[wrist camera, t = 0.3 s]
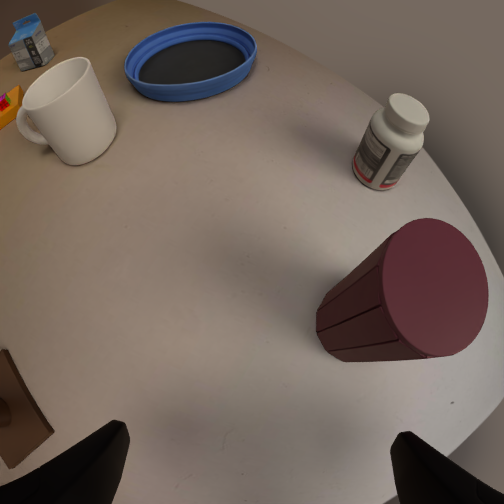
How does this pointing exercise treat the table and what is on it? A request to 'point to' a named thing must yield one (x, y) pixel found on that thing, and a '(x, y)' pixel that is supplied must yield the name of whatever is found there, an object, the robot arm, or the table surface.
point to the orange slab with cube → (10, 105)
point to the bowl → (190, 61)
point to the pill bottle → (390, 142)
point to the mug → (68, 112)
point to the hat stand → (18, 416)
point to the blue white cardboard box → (30, 44)
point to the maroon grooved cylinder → (407, 298)
